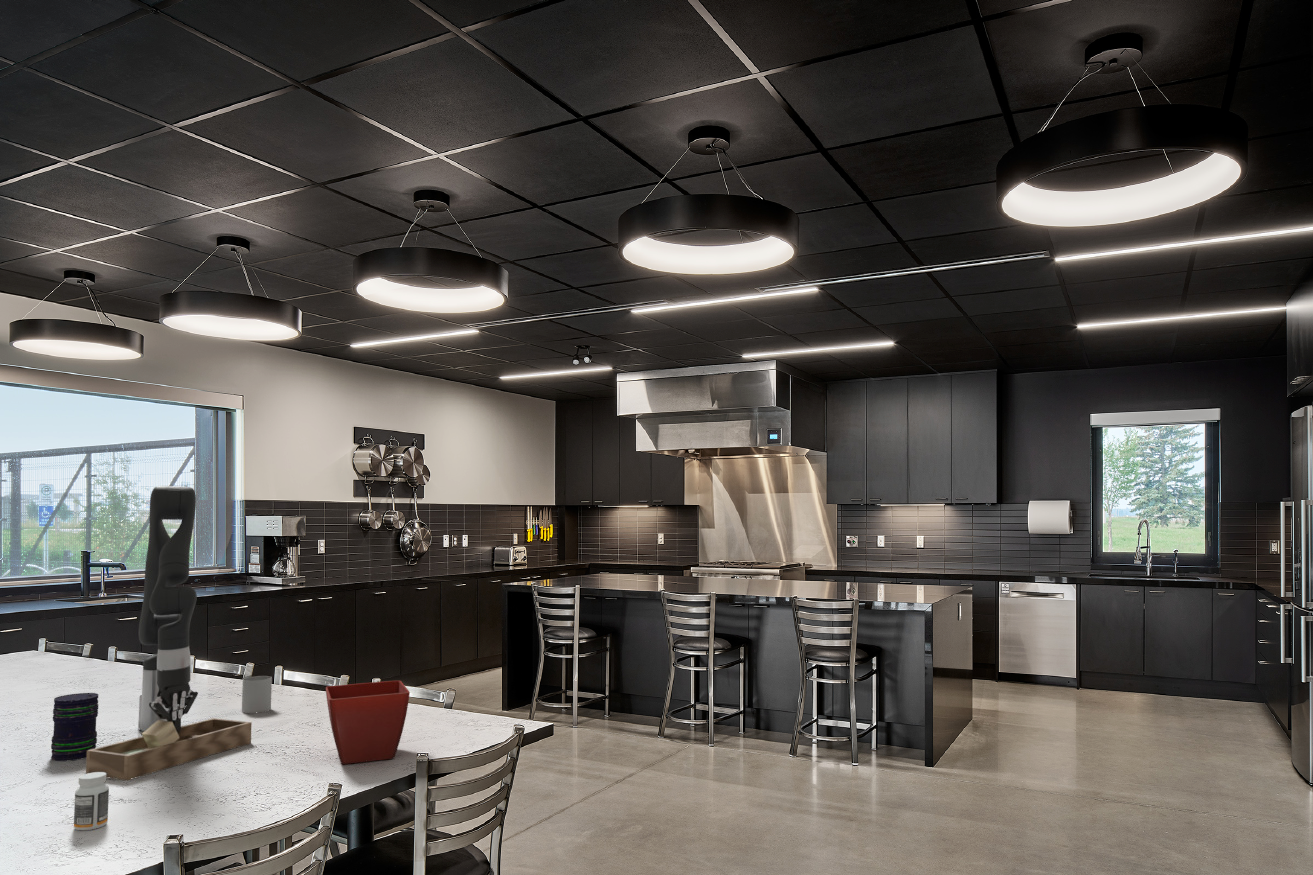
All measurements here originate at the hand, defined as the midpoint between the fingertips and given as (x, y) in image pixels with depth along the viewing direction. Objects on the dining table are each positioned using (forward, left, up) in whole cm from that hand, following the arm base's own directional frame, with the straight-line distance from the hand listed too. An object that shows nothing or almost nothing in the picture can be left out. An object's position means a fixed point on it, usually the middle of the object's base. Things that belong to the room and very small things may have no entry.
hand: (174, 733), depth 225 cm
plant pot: (+45, +19, -6) cm, 49 cm away
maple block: (0, -2, -2) cm, 3 cm away
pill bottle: (+29, -42, -6) cm, 51 cm away
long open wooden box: (0, 0, -6) cm, 6 cm away
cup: (-24, +49, -6) cm, 55 cm away
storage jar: (-26, -8, -6) cm, 28 cm away
